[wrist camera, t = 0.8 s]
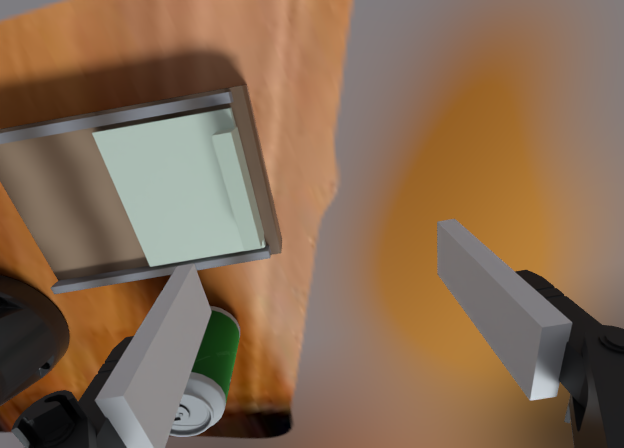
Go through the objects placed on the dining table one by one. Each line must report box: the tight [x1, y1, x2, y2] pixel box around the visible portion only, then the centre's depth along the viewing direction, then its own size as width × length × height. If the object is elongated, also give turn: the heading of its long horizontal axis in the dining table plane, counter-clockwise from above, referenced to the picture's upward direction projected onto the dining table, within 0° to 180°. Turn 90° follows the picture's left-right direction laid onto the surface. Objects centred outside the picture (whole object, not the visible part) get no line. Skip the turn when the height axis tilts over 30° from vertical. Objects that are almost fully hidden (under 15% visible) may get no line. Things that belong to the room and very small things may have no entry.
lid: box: [92, 108, 266, 267], centre depth 28 cm, size 12×13×4 cm
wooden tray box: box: [0, 85, 282, 294], centre depth 31 cm, size 23×16×4 cm
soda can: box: [169, 306, 240, 437], centre depth 35 cm, size 8×8×12 cm
